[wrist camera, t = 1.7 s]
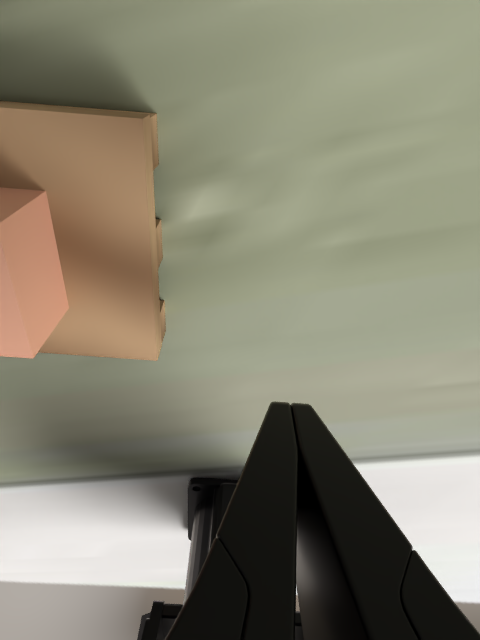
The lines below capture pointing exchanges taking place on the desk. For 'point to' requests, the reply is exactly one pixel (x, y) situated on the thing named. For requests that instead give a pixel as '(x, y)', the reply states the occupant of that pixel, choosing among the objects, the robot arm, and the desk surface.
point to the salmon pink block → (28, 273)
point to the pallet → (94, 220)
